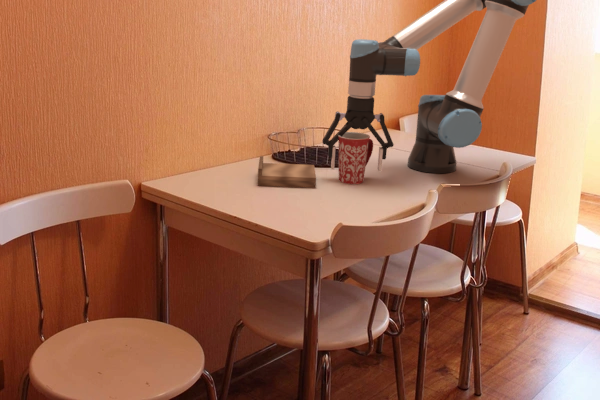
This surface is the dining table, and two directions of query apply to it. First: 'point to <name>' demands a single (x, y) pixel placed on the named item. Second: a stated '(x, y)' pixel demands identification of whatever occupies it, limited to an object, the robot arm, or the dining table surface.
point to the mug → (354, 156)
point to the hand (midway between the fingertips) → (355, 169)
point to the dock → (286, 175)
